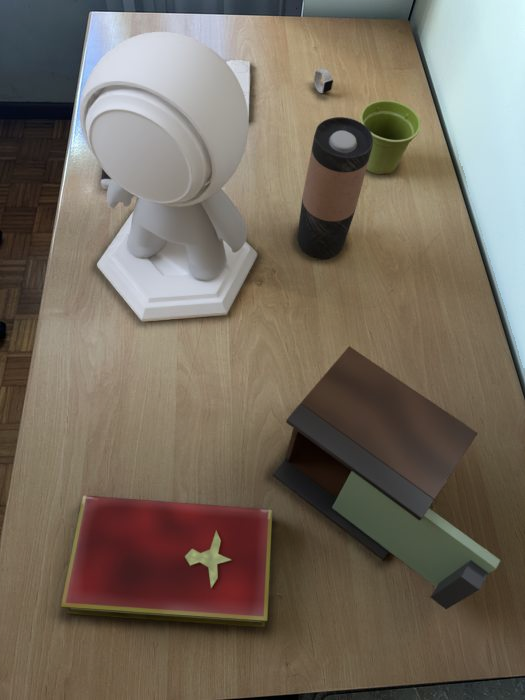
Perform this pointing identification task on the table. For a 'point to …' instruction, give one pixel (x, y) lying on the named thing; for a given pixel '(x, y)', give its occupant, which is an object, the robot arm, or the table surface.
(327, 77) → the smartwatch
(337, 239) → the travel mug
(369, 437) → the closet
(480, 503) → the table surface
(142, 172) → the white cartoon figure
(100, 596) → the hardcover book
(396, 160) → the plant pot
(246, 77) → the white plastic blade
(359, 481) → the closet door
